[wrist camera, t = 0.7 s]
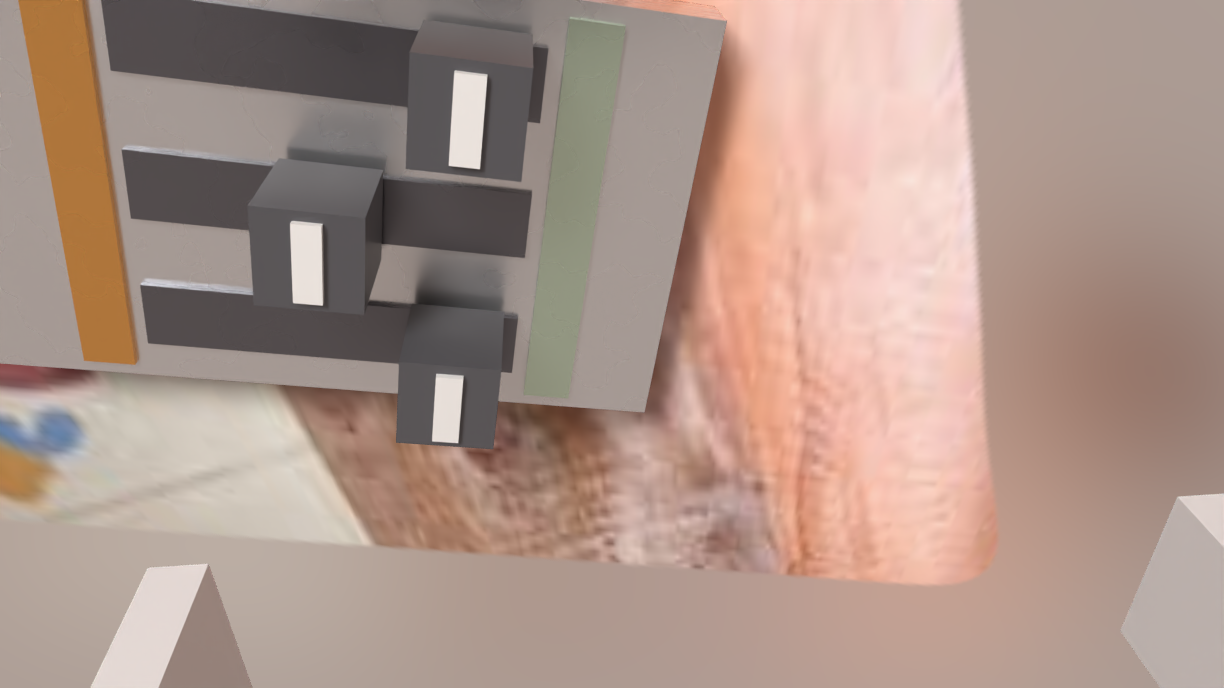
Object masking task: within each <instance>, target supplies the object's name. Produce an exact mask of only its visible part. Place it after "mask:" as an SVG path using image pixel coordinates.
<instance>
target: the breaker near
mask: <svg viewBox="0 0 1224 688" xmlns="http://www.w3.org/2000/svg"><path fill="white" fill-rule="evenodd" d="M532 76H533V34H525V33H518V32H511V31H504V30H496V29H489V28H482V27H474V26H467V25H460V24H453V23H445V22H438V21H431V20H423V22H422V24H421V27H420V29H419V31H418V34H417V36H416V38H415V40H414V43H413V45H412V47H411V50H410V53H409V82H408V111H407V140H406V169H410V170H419V171H428V172H436V173H445V174H454V175H463V176H472V177H481V178H490V179H498V180H507V181H516V182H521V181H522V171H523V162H524V152H525V143H526V133H527V124H528V114H529V105H530V95H531V86H532Z"/></svg>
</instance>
